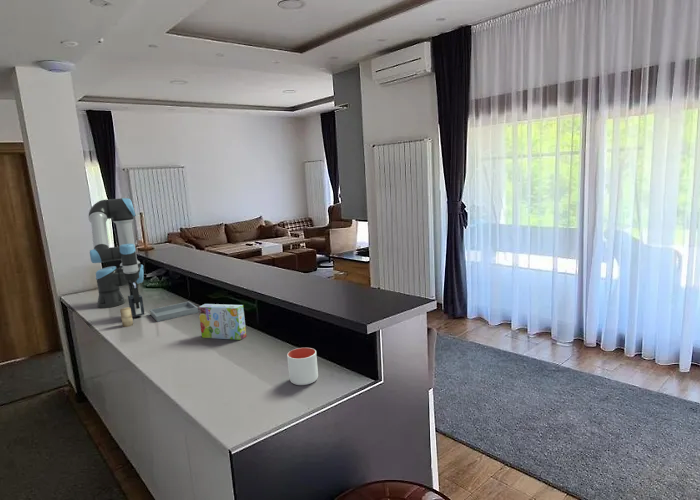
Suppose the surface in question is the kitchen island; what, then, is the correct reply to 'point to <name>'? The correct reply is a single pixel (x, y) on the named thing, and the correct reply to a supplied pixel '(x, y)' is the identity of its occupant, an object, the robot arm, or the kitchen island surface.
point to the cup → (302, 366)
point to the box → (132, 306)
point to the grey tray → (173, 311)
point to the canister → (126, 317)
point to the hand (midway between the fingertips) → (137, 312)
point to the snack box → (222, 321)
